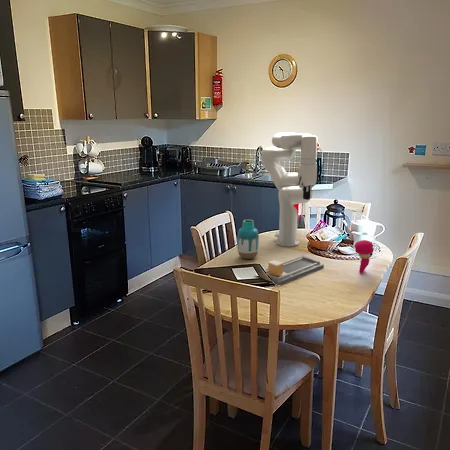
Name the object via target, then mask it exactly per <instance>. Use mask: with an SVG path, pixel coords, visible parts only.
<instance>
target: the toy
mask: <svg viewBox="0 0 450 450" xmlns="http://www.w3.org/2000/svg"><path fill="white" fill-rule="evenodd" d="M354 248H355V249H354V252H355V254H358V257H360V258H361V259H360V265H359V270H358V271H359V273H360V274H363V273H364V272H365V270H366V268H367V267H368V266H369V264H370V259H371V257H372V256H373V254H374V253H373V252H374V243H373V242H371V241H370V240H366V239H364V240H363V239H362V240H361V239H360V240H358V241H356V242H355V244H354Z"/></svg>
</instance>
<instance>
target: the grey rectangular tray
mask: <svg viewBox="0 0 450 450" xmlns="http://www.w3.org/2000/svg"><path fill="white" fill-rule="evenodd" d="M282 263H283V274H281V275H278V276H275V275H272V274H270V273H268V268H266V269H263V270H264V271H265V272H266V274H267V275H268V276H269V277H270V278H271V279H272V281H273V282H274V283H275V284H274V285H276V284H277V285H276V286H278V285H280V286H282V285H284V284H287V283H289V282H291V281H294V280H297V279H299V278H301V277H304V276H306V275H309V274H311V273H314V272H316V271H319V270H321V269H324V265H325V264H324V263H321V262H320V260H317V259H313V258H311V257H307V256H305V255H302V256H299V257H296V258H294V259H291V260H288V261H285V262H282Z"/></svg>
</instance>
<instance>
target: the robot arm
mask: <svg viewBox="0 0 450 450" xmlns="http://www.w3.org/2000/svg"><path fill="white" fill-rule="evenodd" d="M271 143H272V145H273V146H269V147H266V148H264V149H262V151H261V154H260V158H261V163H262V165H263V167H264V169H265V170H266V172H267V173H268V174H269V175H270V177H271V179H272V182H273V183H274V185H275V187H276V189H278V195H277V196H278V202H279V203H278V205H279V221H278V222H279V223H278V224H279V226H278V227H279V228H278V229H279V230H278V232H276V233H275V234H274V237H275V238H276V240H275V243H276V245H278V246H281V247H286V248H287V247H291V248H292V247H295V246H296V247H297V246H298V245H299V244H300V241H299V240H298V239H297V238H298V237H297V235H298V231H297V230H298V210H297V208H296V207H295V205H297V204H299V205H300V204H307V203H308V202H310V201H311V200H312V190H313V187H315V186H316V184H317V181H318V180H317V178H318V169H317V155H318V152H317V151H318V136H317V135H314V134H313V135H312V134H310V133H296V132H293V131H291V132H290V131H289V132H277V133H276V134H274V135H273V136H272V139H271ZM297 150H300V159H299V160H300V162H299V163H300V164H299V165H298V170H297V172H287V171H286V169H285V167H284V166H283V165H281V164H280V163H279V162H289V161H291V160H292V159H293V157H294V154H295V153H296V151H297Z"/></svg>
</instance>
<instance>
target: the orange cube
mask: <svg viewBox="0 0 450 450" xmlns="http://www.w3.org/2000/svg"><path fill="white" fill-rule="evenodd" d="M267 263H268V267H267V269H268V273H270V274H272V275H275V276H278V275H281V274H283V263H284V262H281V261H279V260H277V259H274V260H270V261H268V262H267Z"/></svg>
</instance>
